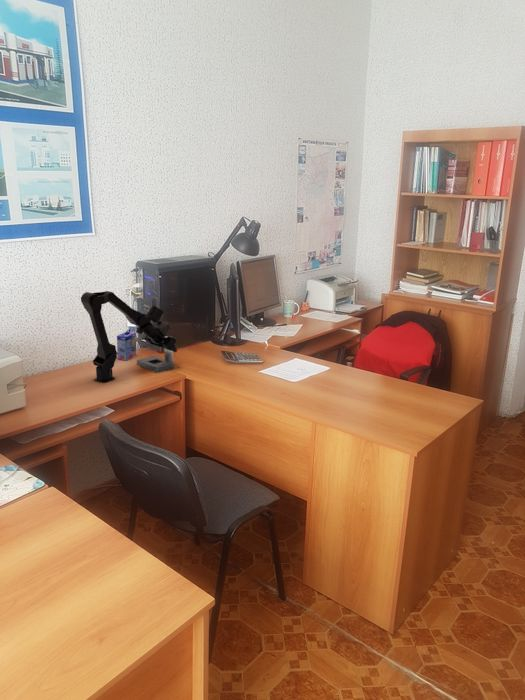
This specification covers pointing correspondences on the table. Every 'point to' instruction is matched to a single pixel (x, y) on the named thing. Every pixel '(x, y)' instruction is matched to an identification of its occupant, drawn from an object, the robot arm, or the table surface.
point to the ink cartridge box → (126, 345)
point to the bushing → (168, 354)
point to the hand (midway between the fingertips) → (170, 349)
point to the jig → (155, 364)
